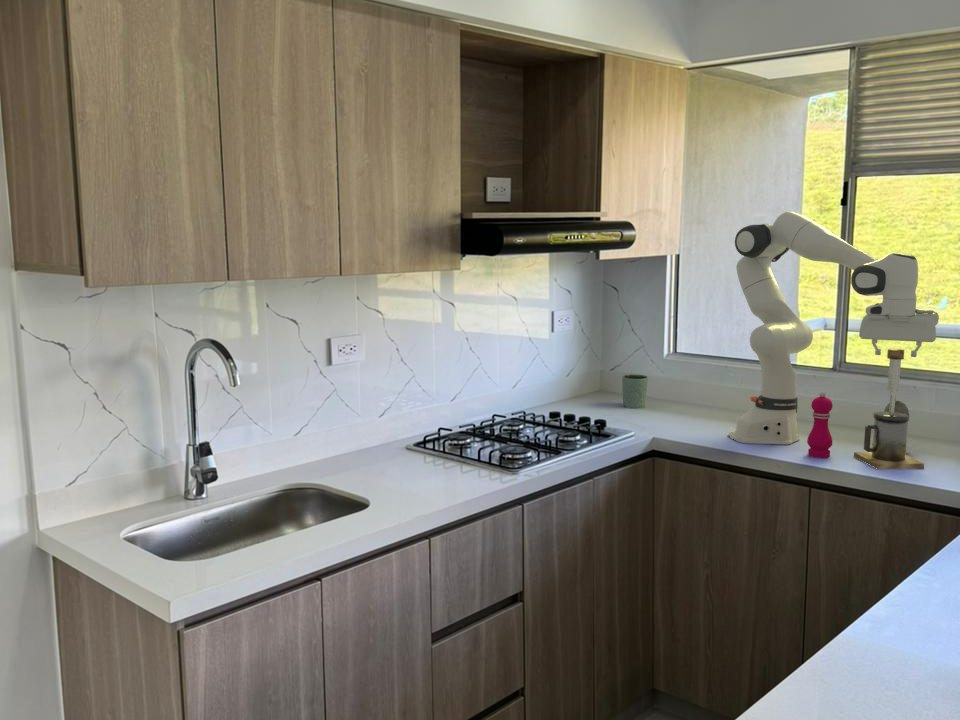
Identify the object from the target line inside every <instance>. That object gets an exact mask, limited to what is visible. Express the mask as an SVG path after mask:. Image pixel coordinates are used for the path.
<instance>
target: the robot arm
mask: <svg viewBox="0 0 960 720" xmlns="http://www.w3.org/2000/svg"><path fill="white" fill-rule="evenodd" d="M734 246H735V250H736V251H737V252H738V253H739V254H740V255H741V256H743V257H741V258H740V259H739V260H738V262H737V264H736V266H735V267H736V269H735V270H736V273H737V278H738V282H739V285H740V288H741V290H742V293H743V295H744V298H745V299H746V301H747V304H748V307H749V309H750V312H751V313H752V314H753V316H755V317H757V318H758V319H759V320H760V321H761V322H762V325H760V326H758V327H755V329H753V331H752V332H751V334H750V336H749V344H750V347H751V350H752V351H753V352H754V354H756V356H757V358H758V361H759V365H760V370H761V393H760V395H759V396H756V395H751V396H750V397H749V398H750V402H753V403H755V404H754V407H752V408H751V409H749V410H748V411H746V412H745V413H744V414H742V415H740V416H739V417H738V419H737V421H736V426H735V429H734V430H730V431H729V432H728V437H729V436H730V437H731V438H730V437H729V438H730V439H731V440H733V439H734V440H733V441H735V440H736V442H739V443H743V444H756V445H757V444H759V445H761V444H762V445H791V444H793V443H795V442H799V440H800V436H799V432H798V423H797V413H798V406H799V404H798V403H799V402H798V397H797V392H798V391H797V390H798V373H797V371H796V370H795V369H794V368H793V365H792V362H791V355H793V354H797V353H801V352H802V351H804V350H806V349H807V348H809V347H810V346H811V344H812V342H813V338H814V335H813V331H812V328H811V327H810V326H809V324H807V323H806V322H804V321H803V320H802V319H800V318H799V317H798V315H797V314H796V313H795V312H794V311H793V309H792V308H791V306H790V305H789V304H788V302H787V301H786V299H785V297H784V295H783V293H782V290H781V289H780V286H779V284H778V282H777V279H776V278H775V275H774V273H773V270H772V268H771V263H776V262H777V261H779V260H780V258H781V257H782V256H783V255H785V254H786V253H787V252H788V251H792V252H793V253H795V254H796V255H799V256H800V257H802V258H805V259H807V260H808V261H812V262H820V263H821V262H823V263H824V262H825V263H833V264H839V265H842V266H844V267H847V268H849V269H851V270H852V271H853V272H852V274H851V276H850V278H851V279H850V283H851V286H852V289H853V291H854V292H856V293H857V294H859V295H861V296H867V297H871V296H876V297H877V296H882V302H879V303H878V302H877V303H875V304H872V305H871V304H870V305H868V306H866V308H865V315H864V316H863V318H862V320H861V322H860V328H859V337H860V339H862V340H871V344H872V347H873V348H874V351H875V353H874V355H875V356H881V354H882V352H881V351H882V348H879V347H878V345H877V343H878V340H880V341H896V342H897V341H898V342H916V343H915V345H916V347H915V348H914V350H912V349H911V350H910V357H911V358H917V352H918V351H919V349H920V348H921V347H922V343H934V342H935V341H936V339H937V328H936V326H937V325H938V324H939V317H940V316H939V313H938V312H936V311H934V310H933V309H919V308H918V309H916V308H917V293H916V291H917V287H918V283H919V265H918V260H917V259H918V258H916V256H914V255H913V254H910V253H905V252H899V251H896V252H895V251H892V252H889V253H887V254H886V255H885V256H883V257H881V258H876V257H875V256H873V255H870V254H869V253H867V252H865V251H863V250H862V249H860V248H858V247H856V246H853V245H852V244H851V243H848V242H847V241H845V240H844V239H842V238H840V237H839V236H838V235H835V234H834V233H833V232H831V231H830V230H829V229H827V228H825V227H824V226H822V225H820V224H819V223H818V222H815V221H814V220H812V219H811V218H809V217H807V216H805V215H802V214H799V213H797V212H794V211H785V212H783V213H781V214H780V215H778V216H777V218H776V219H775V221H774V223H761V224H750V225H747V226H744V227H742V228H741V229H740V230H739V231H738V232H737V233H736V235H735V238H734Z"/></svg>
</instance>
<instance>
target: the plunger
mask: <svg viewBox="0 0 960 720" xmlns="http://www.w3.org/2000/svg"><path fill="white" fill-rule="evenodd" d="M886 359H889V366H888V377H887V378H888V379H887V381H888V382H887V390H888V391H890V392H891V391H896V392H899V391H900V381H901V380H900V377H901V366H902V360H905V349H902V348H888V349H887V355H886Z"/></svg>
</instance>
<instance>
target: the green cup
mask: <svg viewBox="0 0 960 720" xmlns="http://www.w3.org/2000/svg"><path fill="white" fill-rule="evenodd" d="M621 379H622V381H621V383H622V385H621V386H622V389H621V390H622V407H624V406H625V407H624V408H626V407H630V408H629V409H642V408H643V407H644V408H645V406H646V400H647V399H646V398H647V389H648V383H649V381H648V380H649V377H648V376H647V375H644V374H635V373H634V374H623V375H622V376H621ZM644 408H643V409H644Z"/></svg>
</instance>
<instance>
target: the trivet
mask: <svg viewBox="0 0 960 720" xmlns="http://www.w3.org/2000/svg"><path fill="white" fill-rule="evenodd" d="M855 457H856V459H857V458H858V459H857V460H859V459H860V460H859V461H861V460H862V461H864V462H866V463H868V464H870V465H871V466H870V465H869V466H870V467H872V466H874V467H875V468H874V467H873V468H874V469H876V468H877V469H876V470H914V469H915V470H917V469H918V470H919V469H922V470H924V469H925V463H924V462H922V461H919V460H918V459H915V458H913V457H912V456H909V455H907V454H906V455H905V460H904V461H900V462H891V461H883V460H878V459H875V458H873V457H872V452H867V451H856V452H855V451H854V452H853V458H855ZM862 461H861V462H862ZM864 462H863V463H864ZM866 463H865V464H866ZM868 464H867V465H868Z"/></svg>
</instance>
